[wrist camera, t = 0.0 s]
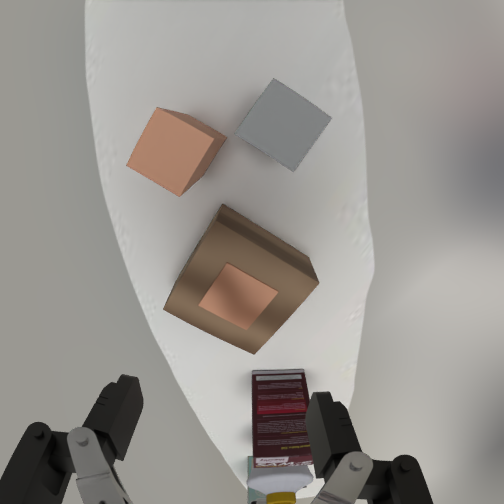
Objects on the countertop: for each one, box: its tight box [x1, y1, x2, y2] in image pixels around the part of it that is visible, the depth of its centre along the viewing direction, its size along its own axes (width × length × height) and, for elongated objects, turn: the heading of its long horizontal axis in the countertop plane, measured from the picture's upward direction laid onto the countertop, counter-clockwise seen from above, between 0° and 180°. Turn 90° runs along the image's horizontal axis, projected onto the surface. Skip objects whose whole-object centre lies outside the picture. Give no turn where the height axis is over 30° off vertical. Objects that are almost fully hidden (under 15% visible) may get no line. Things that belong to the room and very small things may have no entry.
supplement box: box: [252, 369, 313, 468], centre depth 35 cm, size 9×5×16 cm, turn 90°
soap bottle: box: [247, 465, 313, 504], centre depth 38 cm, size 13×13×25 cm
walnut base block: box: [163, 204, 319, 354], centre depth 31 cm, size 12×12×6 cm
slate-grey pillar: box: [235, 78, 332, 172], centre depth 22 cm, size 5×5×10 cm
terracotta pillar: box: [126, 107, 227, 197], centre depth 23 cm, size 5×5×10 cm
